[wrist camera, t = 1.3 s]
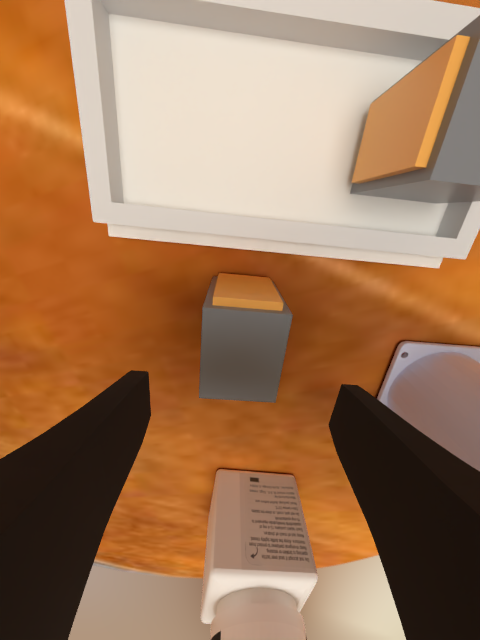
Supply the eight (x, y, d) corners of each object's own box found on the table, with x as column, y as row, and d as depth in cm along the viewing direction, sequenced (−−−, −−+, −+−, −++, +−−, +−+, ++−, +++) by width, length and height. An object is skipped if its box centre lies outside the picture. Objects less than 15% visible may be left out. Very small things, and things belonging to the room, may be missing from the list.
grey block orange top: (209, 342, 18) (199, 397, 13) (213, 269, 16) (203, 298, 11) (262, 346, 18) (275, 402, 13) (273, 275, 16) (294, 306, 11)
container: (278, 519, 27) (313, 759, 15) (208, 515, 27) (187, 761, 15) (295, 473, 24) (355, 726, 12) (216, 466, 24) (199, 727, 12)
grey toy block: (435, 203, 14) (570, 196, 8) (342, 192, 13) (418, 178, 8) (468, 115, 12) (661, 34, 7) (364, 100, 12) (476, 3, 6)
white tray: (427, 265, 16) (459, 273, 14) (116, 234, 15) (95, 238, 13) (517, 37, 12) (584, -5, 10) (90, -32, 11) (51, -99, 8)
